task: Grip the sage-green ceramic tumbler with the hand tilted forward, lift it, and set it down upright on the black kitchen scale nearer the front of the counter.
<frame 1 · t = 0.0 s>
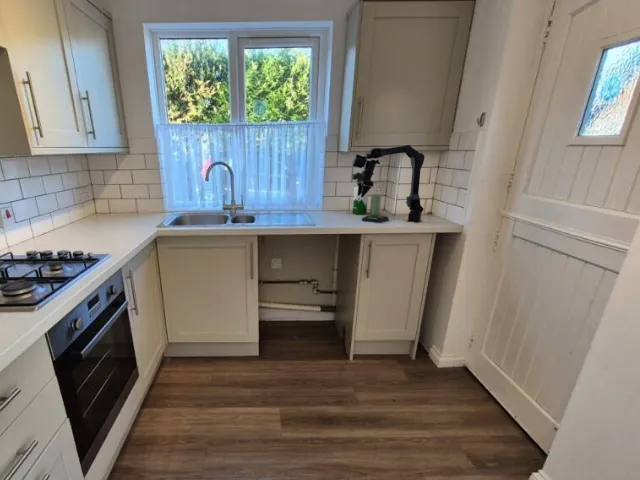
hand: (360, 196, 220), 15 cm above the countertop, tool pointing down, fingers open, 9 cm apart
scale: (375, 220, 228), on the countertop
milk carton: (359, 214, 255), on the countertop
tumbler: (374, 214, 250), on the countertop
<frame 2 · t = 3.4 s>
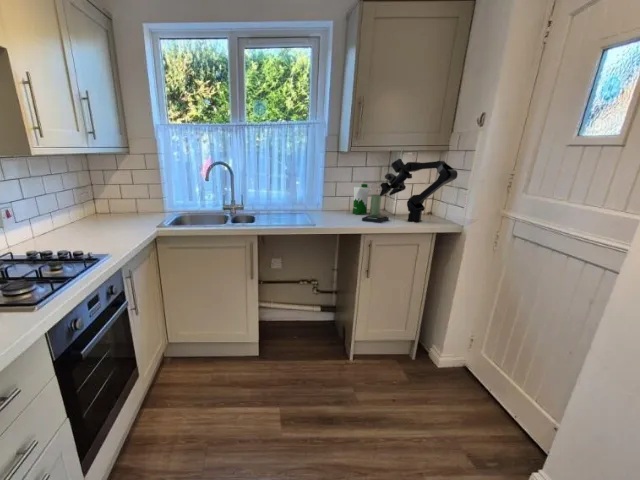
hand: (384, 195, 239), 14 cm above the countertop, tool tilted 45°, fingers open, 9 cm apart
nothing on the countertop moved.
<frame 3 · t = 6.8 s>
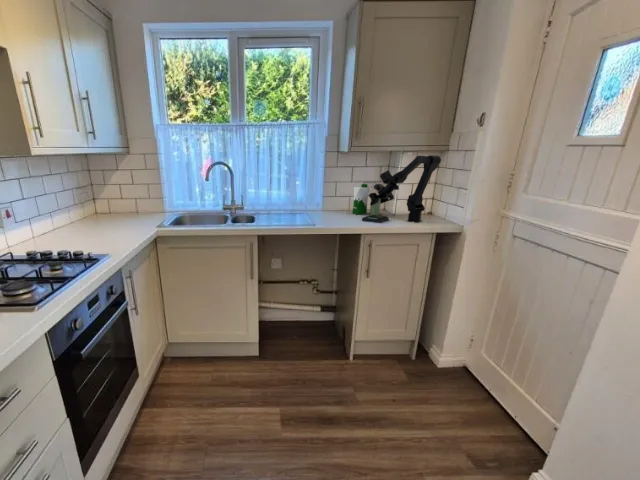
hand: (374, 204, 249), 7 cm above the countertop, tool tilted 45°, fingers closed on tumbler, 6 cm apart
tumbler: (374, 214, 250), on the countertop, touching gripper
everything else where it was.
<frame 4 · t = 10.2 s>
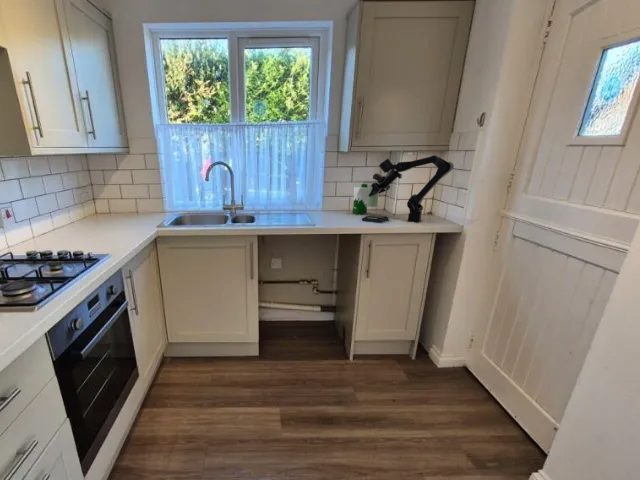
hand: (371, 195, 237), 14 cm above the countertop, tool tilted 45°, fingers closed on tumbler, 6 cm apart
tumbler: (372, 206, 238), point 7 cm above the countertop, touching gripper
everything else where it was.
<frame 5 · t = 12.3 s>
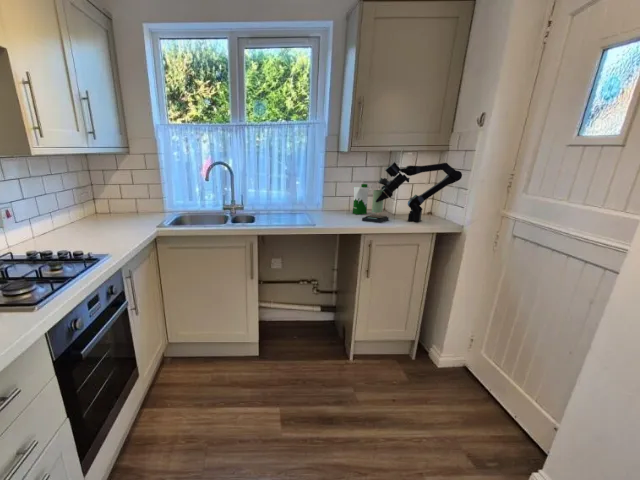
hand: (375, 201, 225), 12 cm above the countertop, tool tilted 45°, fingers closed on tumbler, 6 cm apart
tumbler: (376, 211, 227), point 5 cm above the countertop, touching gripper
everything else where it was.
when the fingers open (9 cm above the countertop, at t = 13.7 s): tumbler stays where it is, resting on scale.
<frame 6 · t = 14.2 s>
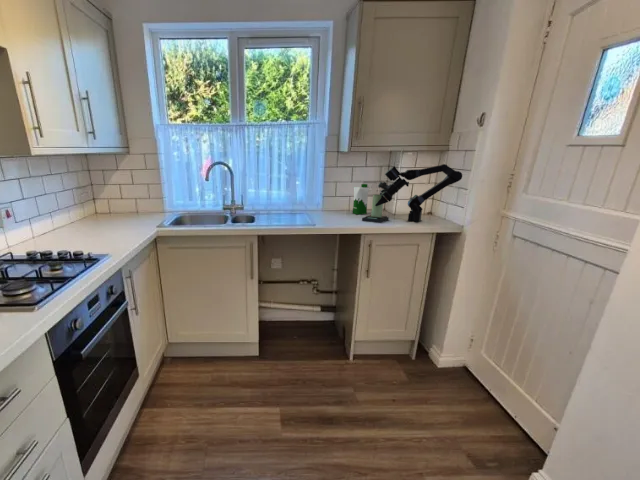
hand: (375, 204, 226), 10 cm above the countertop, tool tilted 45°, fingers open, 9 cm apart
tumbler: (376, 216, 228), point 3 cm above the countertop, touching scale
everything else where it was.
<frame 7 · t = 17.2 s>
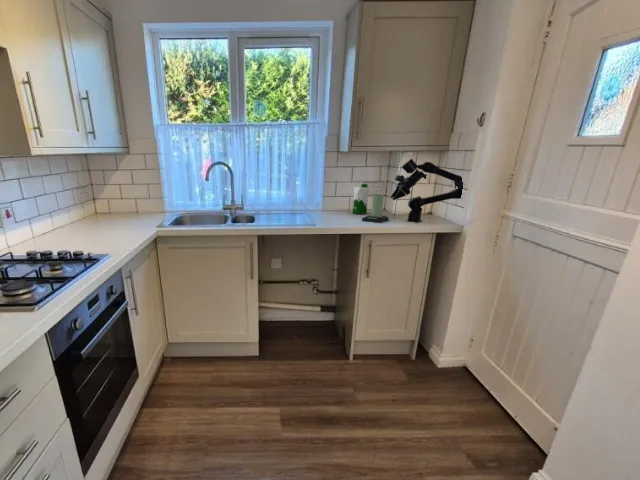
hand: (391, 198, 222), 14 cm above the countertop, tool tilted 45°, fingers open, 9 cm apart
nothing on the countertop moved.
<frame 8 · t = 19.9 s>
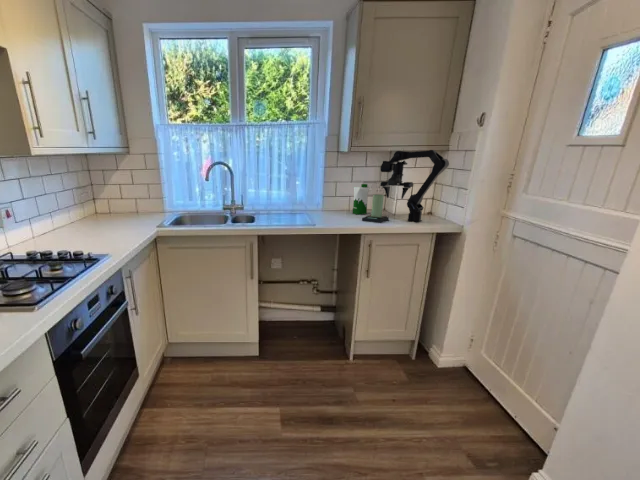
hand: (394, 198, 228), 13 cm above the countertop, tool pointing down, fingers open, 9 cm apart
nothing on the countertop moved.
at the end: tumbler inside the target area on the scale (0.0 cm from its centre), point 2.6 cm above the scale's base; tumbler tilted 0°; the gripper is holding nothing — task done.
